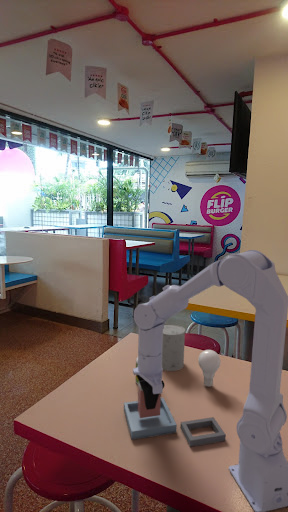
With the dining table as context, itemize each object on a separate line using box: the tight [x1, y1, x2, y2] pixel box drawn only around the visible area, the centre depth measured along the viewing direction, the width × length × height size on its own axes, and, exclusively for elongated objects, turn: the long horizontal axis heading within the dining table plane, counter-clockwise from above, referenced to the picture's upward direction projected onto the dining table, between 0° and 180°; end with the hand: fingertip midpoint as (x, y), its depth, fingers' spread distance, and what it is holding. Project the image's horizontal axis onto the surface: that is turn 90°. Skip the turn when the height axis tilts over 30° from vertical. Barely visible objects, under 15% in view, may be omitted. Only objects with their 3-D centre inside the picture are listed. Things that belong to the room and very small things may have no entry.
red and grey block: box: [137, 380, 162, 418], centre depth 73 cm, size 2×5×8 cm, turn 103°
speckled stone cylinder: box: [162, 323, 186, 372], centre depth 101 cm, size 10×10×12 cm
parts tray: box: [123, 397, 178, 441], centre depth 73 cm, size 11×11×2 cm
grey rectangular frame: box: [179, 416, 226, 447], centre depth 69 cm, size 6×8×2 cm
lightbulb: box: [197, 349, 222, 388], centre depth 88 cm, size 6×6×11 cm
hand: (149, 404), depth 73 cm, fingers closed on red and grey block, 2 cm apart
